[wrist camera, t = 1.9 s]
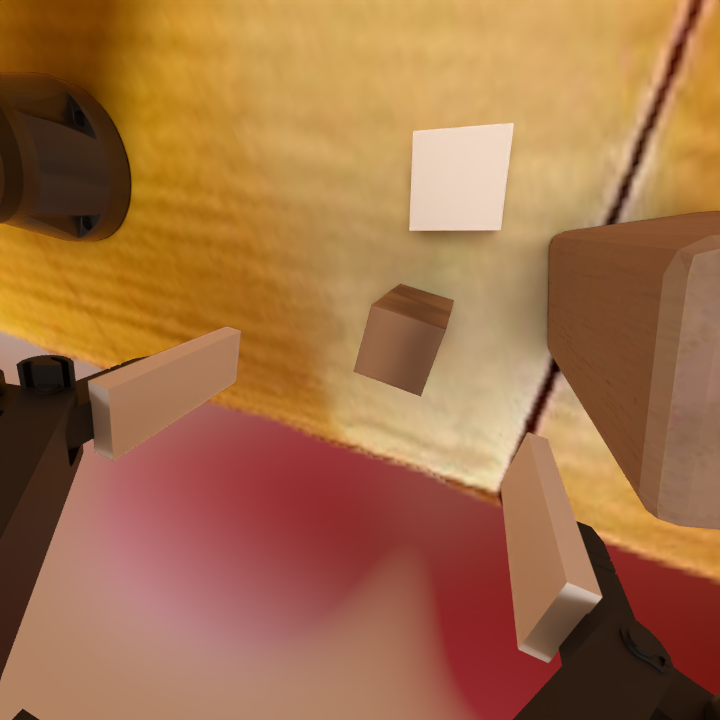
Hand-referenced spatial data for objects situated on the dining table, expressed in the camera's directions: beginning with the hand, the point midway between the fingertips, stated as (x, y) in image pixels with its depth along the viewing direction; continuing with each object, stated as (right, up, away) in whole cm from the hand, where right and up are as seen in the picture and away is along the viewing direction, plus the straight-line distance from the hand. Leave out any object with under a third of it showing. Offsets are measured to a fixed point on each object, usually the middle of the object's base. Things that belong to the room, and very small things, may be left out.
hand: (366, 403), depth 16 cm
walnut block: (+5, +6, +17) cm, 19 cm away
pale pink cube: (+8, +15, +13) cm, 22 cm away
